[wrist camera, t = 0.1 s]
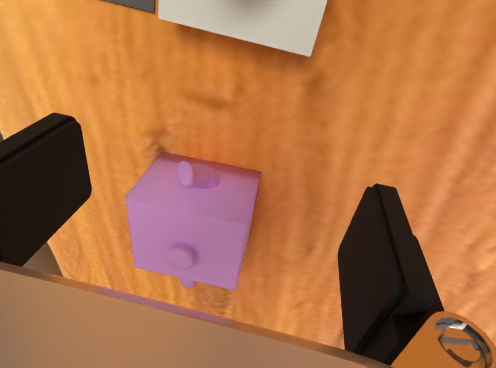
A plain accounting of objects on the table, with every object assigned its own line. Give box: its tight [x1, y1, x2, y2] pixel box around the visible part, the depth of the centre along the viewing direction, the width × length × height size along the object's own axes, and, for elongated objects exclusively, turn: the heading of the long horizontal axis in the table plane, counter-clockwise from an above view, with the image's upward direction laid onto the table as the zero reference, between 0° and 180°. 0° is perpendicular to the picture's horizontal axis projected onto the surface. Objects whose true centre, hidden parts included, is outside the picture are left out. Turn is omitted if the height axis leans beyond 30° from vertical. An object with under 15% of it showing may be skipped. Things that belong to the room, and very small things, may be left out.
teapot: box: [126, 152, 261, 290], centre depth 45 cm, size 15×25×14 cm, turn 173°
